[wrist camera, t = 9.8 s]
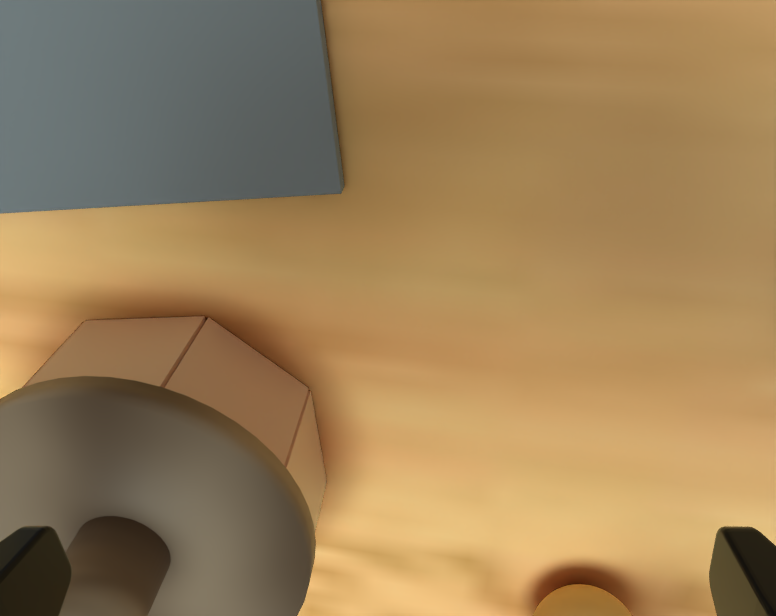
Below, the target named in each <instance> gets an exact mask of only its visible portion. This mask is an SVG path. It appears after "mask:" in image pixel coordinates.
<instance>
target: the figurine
mask: <svg viewBox="0 0 776 616" xmlns="http://www.w3.org/2000/svg"><path fill="white" fill-rule="evenodd" d="M533 616H632V614H631V613H630V611H629V610H628V609H627V608H626V607H625V605H624V604H623V603H622V602H621V601H620V600H618V599H617V598H616V597H615V596H613V595H612V594H610V593H609V592H607V591H605V590H603V589H601V588H598V587H595V586H591V585H585V584H573V585H567V586H564V587H561V588H558V589H556V590H554V591H553V592H551V593H550V594H548V595H547V596H546V597H545V598H544V599H543V600H542V601H541V602H540V604H539V605H538V606H537V608H536V610H535V612H534V614H533Z"/></svg>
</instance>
